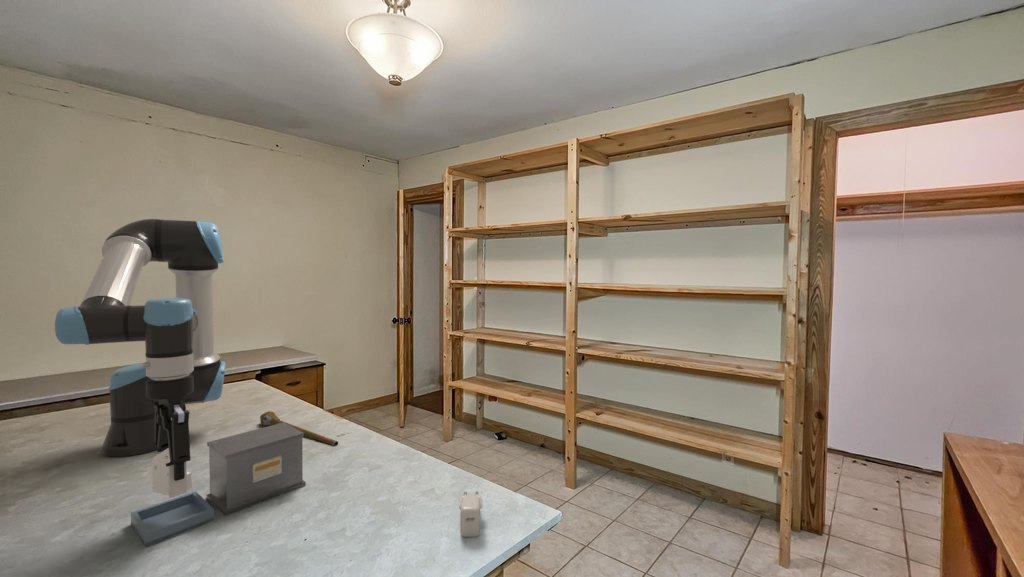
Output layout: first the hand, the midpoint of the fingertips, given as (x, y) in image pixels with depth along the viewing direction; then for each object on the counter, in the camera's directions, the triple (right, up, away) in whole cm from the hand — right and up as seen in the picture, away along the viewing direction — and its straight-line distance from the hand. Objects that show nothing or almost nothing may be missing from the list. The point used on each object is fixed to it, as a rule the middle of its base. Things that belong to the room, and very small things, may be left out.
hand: (172, 488), depth 88 cm
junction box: (+10, -7, +13) cm, 18 cm away
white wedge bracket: (0, -1, 0) cm, 0 cm away
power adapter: (+60, -9, +3) cm, 61 cm away
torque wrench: (+2, -5, +48) cm, 48 cm away
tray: (0, -7, 0) cm, 7 cm away
